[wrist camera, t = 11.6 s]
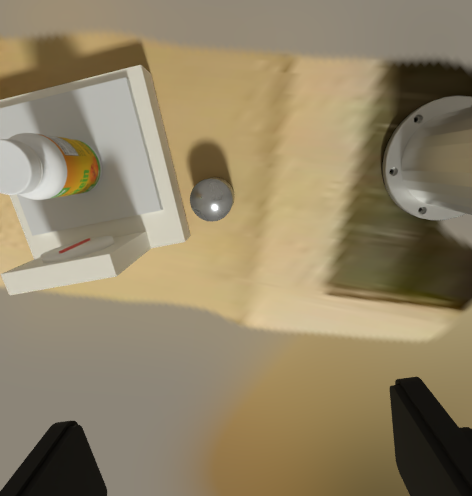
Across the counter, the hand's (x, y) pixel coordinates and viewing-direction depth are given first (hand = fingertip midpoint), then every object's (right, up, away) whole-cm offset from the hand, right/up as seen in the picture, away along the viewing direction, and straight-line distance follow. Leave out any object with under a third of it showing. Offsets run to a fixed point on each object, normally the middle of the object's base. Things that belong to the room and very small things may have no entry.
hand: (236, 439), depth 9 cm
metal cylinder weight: (-2, +12, +26) cm, 29 cm away
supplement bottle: (-16, +14, +23) cm, 31 cm away
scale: (-16, +14, +26) cm, 34 cm away
